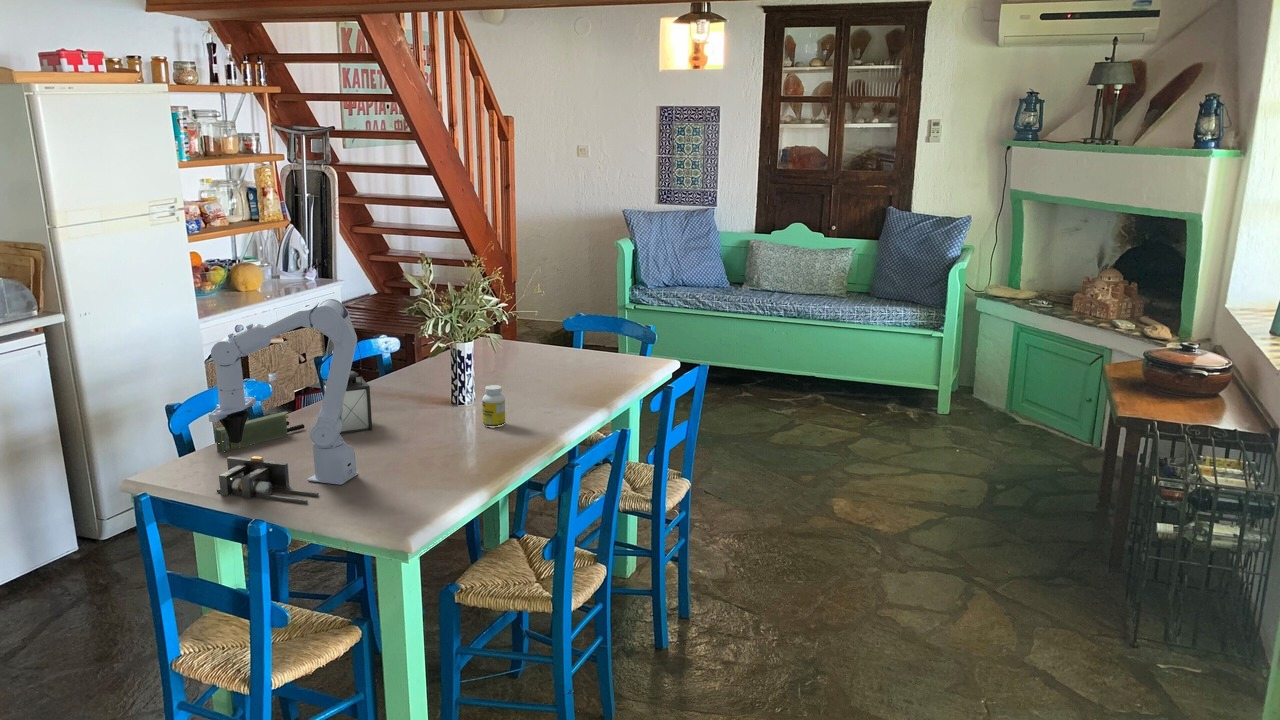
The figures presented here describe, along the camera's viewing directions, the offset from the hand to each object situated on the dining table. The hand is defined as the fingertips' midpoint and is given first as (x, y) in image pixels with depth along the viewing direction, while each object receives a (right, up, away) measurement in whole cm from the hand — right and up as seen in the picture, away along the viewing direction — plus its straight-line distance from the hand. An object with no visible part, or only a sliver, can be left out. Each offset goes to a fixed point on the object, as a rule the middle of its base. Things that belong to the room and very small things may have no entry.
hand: (236, 442), depth 228 cm
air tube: (+5, -11, -4) cm, 13 cm away
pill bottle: (+55, +1, +47) cm, 72 cm away
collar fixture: (+9, -12, -5) cm, 16 cm away
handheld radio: (-6, -3, +31) cm, 32 cm away
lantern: (+14, 0, +43) cm, 45 cm away
